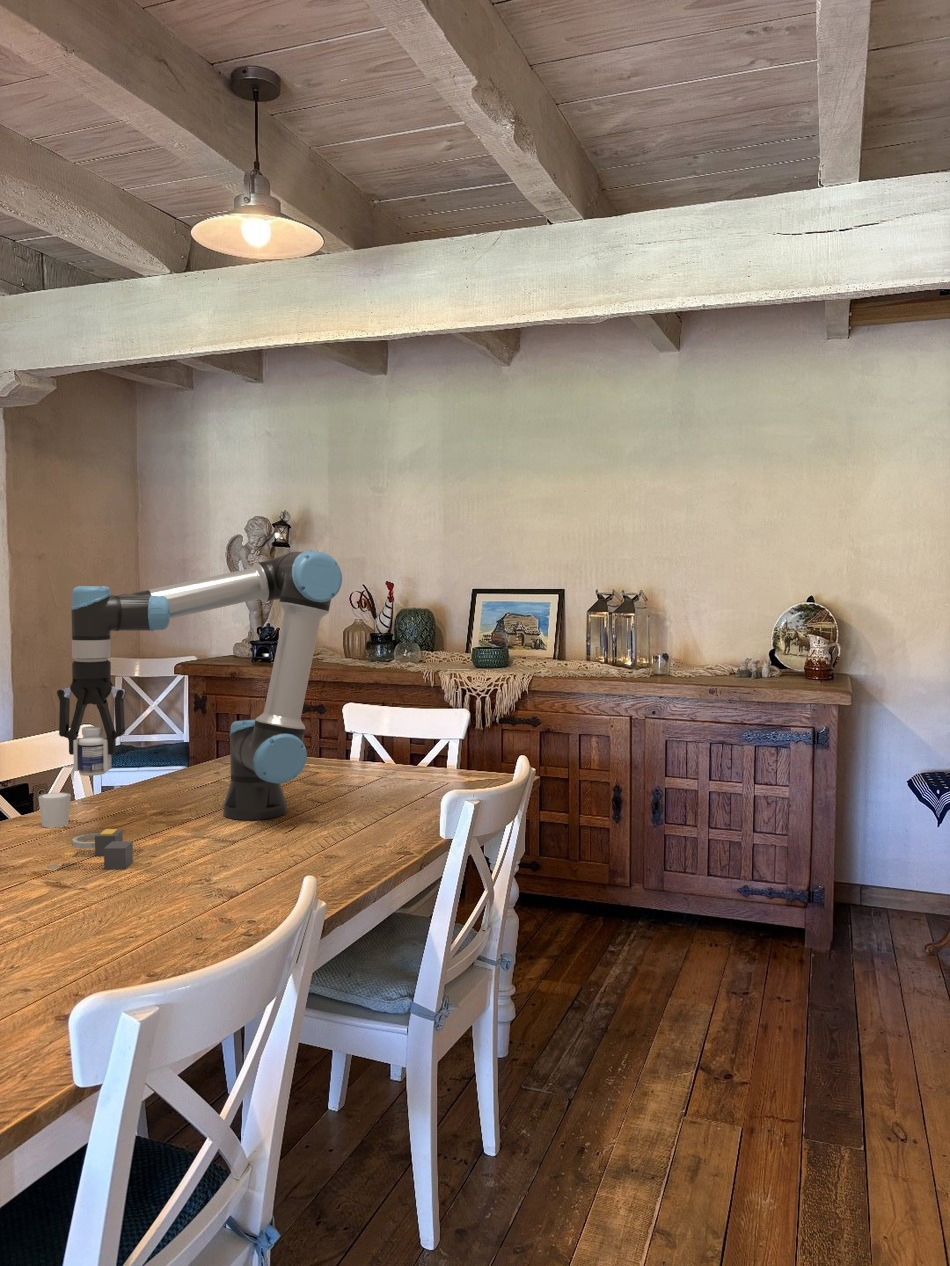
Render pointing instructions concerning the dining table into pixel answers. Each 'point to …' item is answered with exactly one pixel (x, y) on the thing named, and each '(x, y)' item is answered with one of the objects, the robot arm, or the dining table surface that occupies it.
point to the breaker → (118, 855)
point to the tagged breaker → (106, 839)
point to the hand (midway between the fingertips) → (92, 769)
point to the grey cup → (54, 809)
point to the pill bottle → (91, 752)
